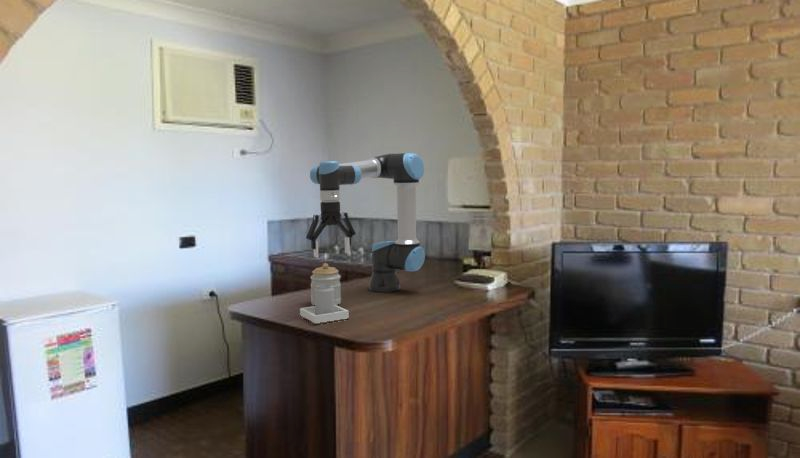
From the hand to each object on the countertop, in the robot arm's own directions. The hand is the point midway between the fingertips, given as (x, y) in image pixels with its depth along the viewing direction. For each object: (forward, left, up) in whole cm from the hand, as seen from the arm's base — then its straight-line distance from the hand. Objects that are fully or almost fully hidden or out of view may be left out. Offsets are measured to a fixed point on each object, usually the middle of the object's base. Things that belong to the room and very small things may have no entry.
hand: (332, 255), depth 213 cm
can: (+2, -5, -23) cm, 24 cm away
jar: (-19, +6, -24) cm, 31 cm away
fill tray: (+2, -5, -24) cm, 25 cm away
